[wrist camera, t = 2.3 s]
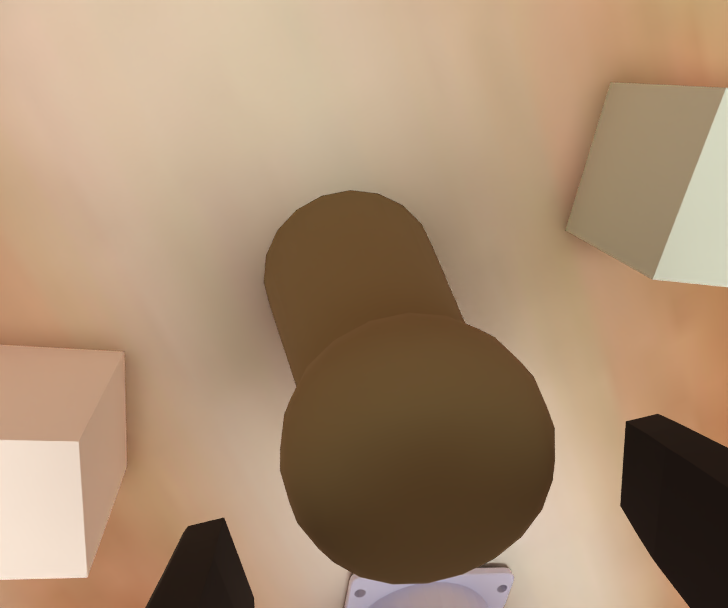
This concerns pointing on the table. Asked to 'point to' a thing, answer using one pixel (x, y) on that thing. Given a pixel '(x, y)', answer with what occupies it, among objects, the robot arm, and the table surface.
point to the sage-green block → (659, 182)
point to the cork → (398, 401)
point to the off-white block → (58, 457)
